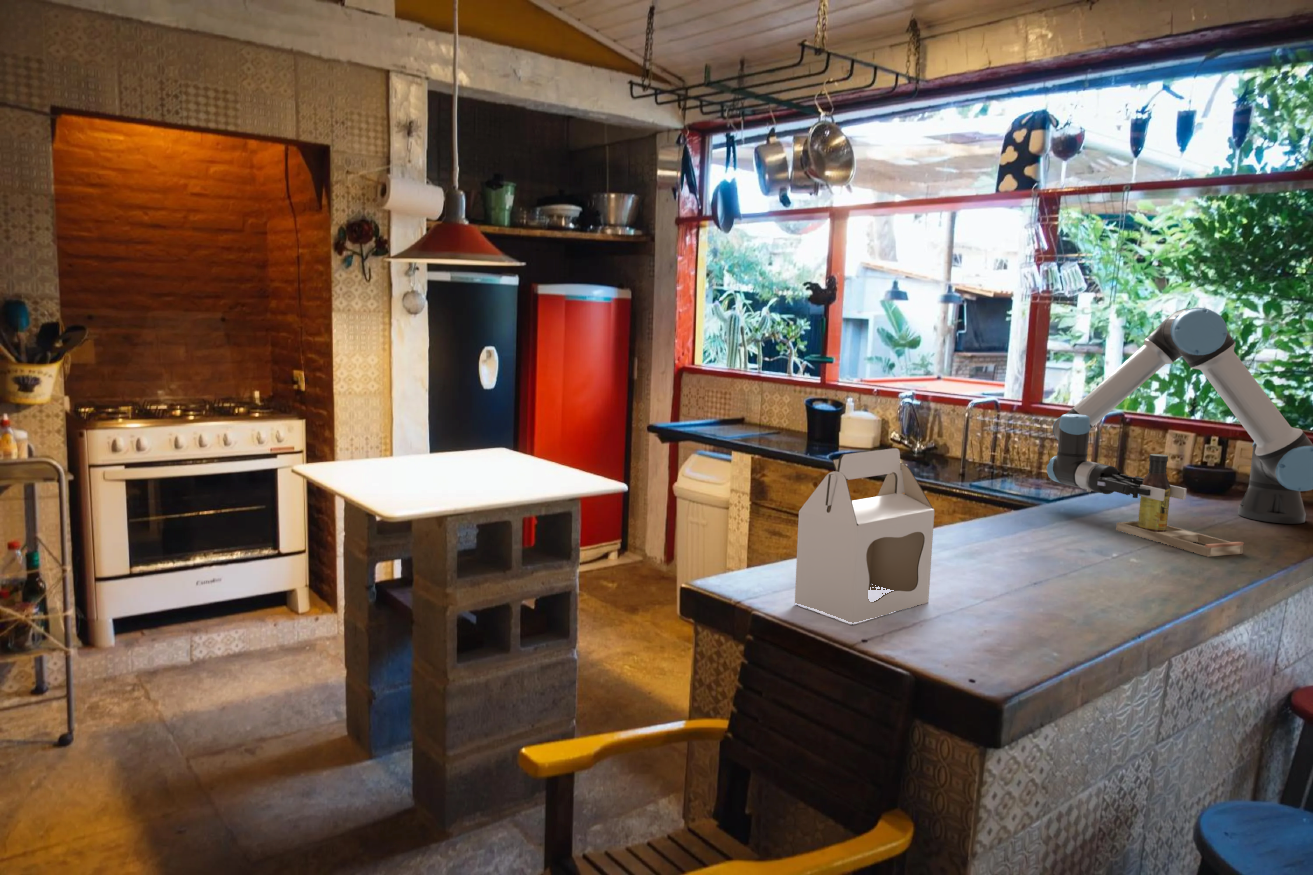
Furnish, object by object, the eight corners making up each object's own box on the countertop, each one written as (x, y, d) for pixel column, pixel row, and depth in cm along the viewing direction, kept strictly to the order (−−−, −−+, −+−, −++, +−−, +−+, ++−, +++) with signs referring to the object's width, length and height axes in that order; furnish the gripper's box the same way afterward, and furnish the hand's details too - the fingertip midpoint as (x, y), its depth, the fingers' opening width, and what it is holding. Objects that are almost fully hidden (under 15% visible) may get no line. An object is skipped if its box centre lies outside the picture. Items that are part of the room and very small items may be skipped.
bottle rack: (1148, 527, 229) (1149, 518, 229) (1242, 553, 205) (1243, 542, 205) (1116, 530, 226) (1117, 520, 226) (1208, 556, 202) (1209, 545, 202)
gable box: (871, 585, 175) (879, 442, 171) (929, 602, 165) (939, 451, 161) (792, 605, 161) (799, 451, 157) (851, 626, 151) (860, 461, 147)
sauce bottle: (1163, 539, 218) (1171, 458, 215) (1135, 534, 222) (1142, 455, 219) (1168, 533, 223) (1175, 454, 220) (1139, 529, 227) (1146, 452, 224)
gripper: (1125, 490, 241) (1202, 508, 220) (1068, 493, 235) (1142, 511, 213) (1127, 462, 240) (1205, 477, 219) (1071, 465, 234) (1145, 480, 212)
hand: (1174, 494), depth 216 cm, fingers closed on sauce bottle, 6 cm apart
